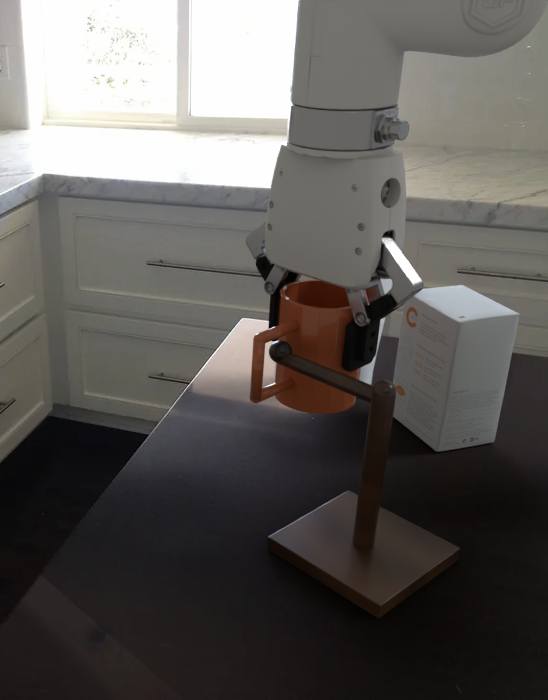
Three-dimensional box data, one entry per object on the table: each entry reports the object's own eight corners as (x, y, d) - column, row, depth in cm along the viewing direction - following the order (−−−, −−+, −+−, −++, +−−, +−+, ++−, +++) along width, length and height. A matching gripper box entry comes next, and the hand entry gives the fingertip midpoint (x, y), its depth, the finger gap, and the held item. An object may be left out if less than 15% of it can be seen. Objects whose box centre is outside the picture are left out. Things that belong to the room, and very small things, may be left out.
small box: (495, 443, 80) (523, 313, 75) (435, 453, 79) (458, 321, 73) (441, 404, 87) (463, 282, 82) (385, 412, 86) (403, 289, 81)
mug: (308, 370, 76) (317, 273, 73) (373, 396, 72) (386, 294, 68) (219, 409, 70) (223, 305, 67) (283, 441, 65) (292, 332, 62)
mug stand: (298, 476, 76) (313, 320, 70) (458, 560, 65) (493, 384, 59) (218, 519, 70) (227, 353, 64) (378, 619, 60) (407, 432, 53)
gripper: (480, 137, 59) (441, 373, 66) (281, 109, 71) (268, 310, 79) (416, 154, 55) (383, 403, 62) (217, 120, 67) (209, 331, 75)
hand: (318, 349), depth 70 cm, fingers closed on mug, 6 cm apart
